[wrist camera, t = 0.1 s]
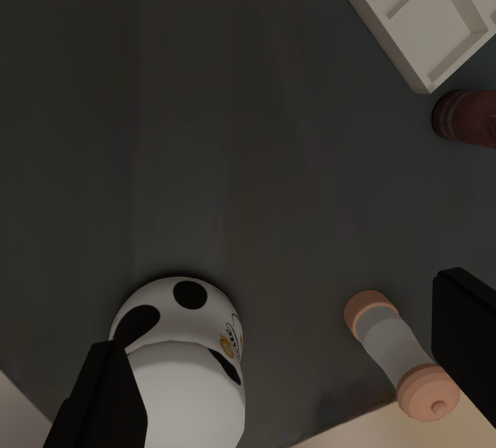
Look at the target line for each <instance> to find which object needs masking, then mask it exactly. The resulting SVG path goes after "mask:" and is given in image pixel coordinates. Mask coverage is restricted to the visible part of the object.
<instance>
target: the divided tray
mask: <svg viewBox="0 0 496 448" xmlns="http://www.w3.org/2000/svg"><path fill="white" fill-rule="evenodd" d="M348 1H349V2H350V4H351V5H352V7H353V8H354V9H355V11H356V12H357V14H358V15H359V16H360V18H361V19H362V21H363V22H364V23H365V25H366V26H367V28H368V29H369V30H370V32H371V33H372V35H373V36H374V38H375V39H376V40H377V42H378V43H379V45H380V46H381V47H382V49H383V50H384V52H385V53H386V54H387V56H388V57H389V59H390V60H391V61H392V63H393V64H394V66H395V67H396V68H397V70H398V71H399V73H400V74H401V76H402V77H403V78H404V80H405V81H406V83H407V84H408V85H409V87H410V88H411V90H412V91H413V92H414V94H431V93H432V92H433V91H434V90H435V89H436V88H437V87H438V86H439V85H441V84H442V83H443V82H444V81H445V80H446V79H447V78H448V77H449V76H450V75H451V74H452V73H453V72H455V71H456V70H457V69H458V68H459V67H460V66H461V65H462V64H463V63H464V62H465V61H466V60H467V59H468V58H470V57H471V56H472V55H473V54H474V53H475V52H476V51H477V50H478V49H479V48H480V47H481V46H482V45H484V44H485V43H486V42H487V41H488V40H489V39H490V38H491V37H492V36H493V35H494V34H495V33H496V0H348Z"/></svg>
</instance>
